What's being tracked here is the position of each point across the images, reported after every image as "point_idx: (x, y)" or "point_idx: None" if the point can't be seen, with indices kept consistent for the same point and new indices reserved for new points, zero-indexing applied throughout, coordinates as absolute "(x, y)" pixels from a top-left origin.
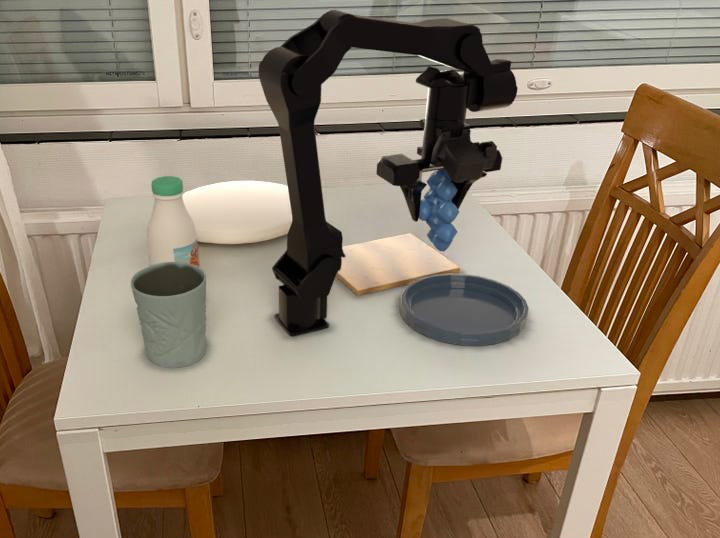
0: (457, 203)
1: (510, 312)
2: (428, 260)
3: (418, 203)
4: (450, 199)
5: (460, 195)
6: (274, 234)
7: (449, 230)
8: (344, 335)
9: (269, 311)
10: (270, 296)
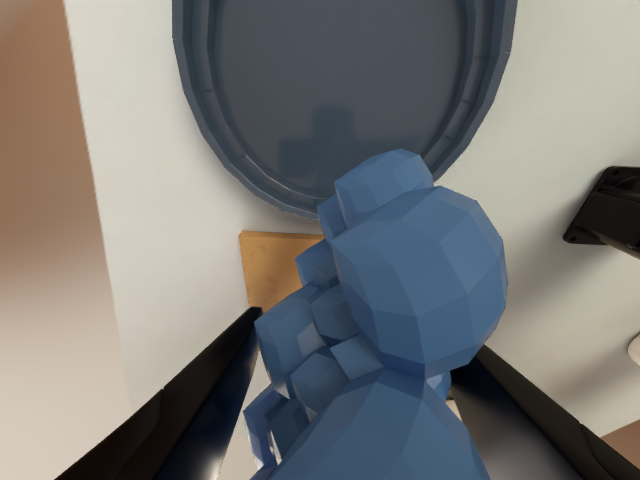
0: (235, 350)
1: (227, 12)
2: (278, 278)
3: (547, 420)
4: (392, 385)
5: (202, 399)
6: (455, 406)
7: (415, 171)
8: (612, 124)
9: (613, 263)
10: (564, 297)
